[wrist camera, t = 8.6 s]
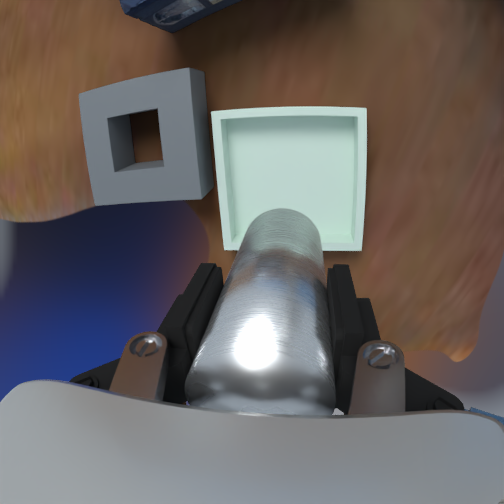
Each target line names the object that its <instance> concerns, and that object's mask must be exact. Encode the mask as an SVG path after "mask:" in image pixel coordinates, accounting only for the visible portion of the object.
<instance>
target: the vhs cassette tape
mask: <svg viewBox="0 0 504 504" xmlns="http://www.w3.org/2000/svg"><path fill="white" fill-rule="evenodd" d="M240 1H242V0H120V4H121V7H122V9H123V11H124V13H125V14H126V15H129V16H131V17H133V18H136V19H137V18H139V19H140V20H141V21H144V22H146V23H148V24H150V25H152V26H156V27H158V28H160V29H162V30H165V31H168V32H170V33H174V32H176V31H178V30H180V29H182V28H184V27H186V26H188V25H190V24H192V23H194V22H196V21H198V20H200V19H202V18H204V17H206V16H208V15H210V14H212V13H215V12H217V11H219V10H221V9H223V8H226V7H228V6H230V5H232V4H235V3H237V2H240Z"/></svg>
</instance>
